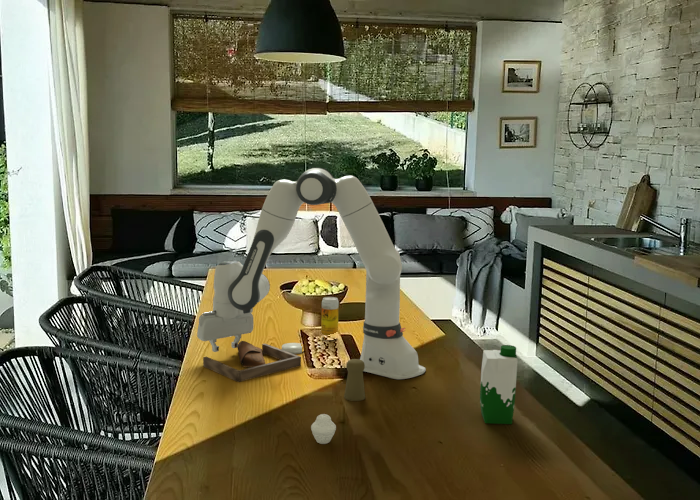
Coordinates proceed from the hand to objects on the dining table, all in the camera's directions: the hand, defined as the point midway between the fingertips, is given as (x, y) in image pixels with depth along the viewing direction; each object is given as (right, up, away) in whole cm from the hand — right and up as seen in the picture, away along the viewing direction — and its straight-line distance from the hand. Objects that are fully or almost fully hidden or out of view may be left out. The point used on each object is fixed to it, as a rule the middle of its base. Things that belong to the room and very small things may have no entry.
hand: (225, 349), depth 249 cm
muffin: (+35, -14, -65) cm, 75 cm away
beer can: (+34, +1, +24) cm, 41 cm away
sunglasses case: (+9, -3, -2) cm, 10 cm away
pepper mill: (+43, -9, -35) cm, 56 cm away
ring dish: (+22, -1, +8) cm, 24 cm away
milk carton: (+81, -12, -48) cm, 95 cm away
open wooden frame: (+10, -4, -9) cm, 15 cm away
